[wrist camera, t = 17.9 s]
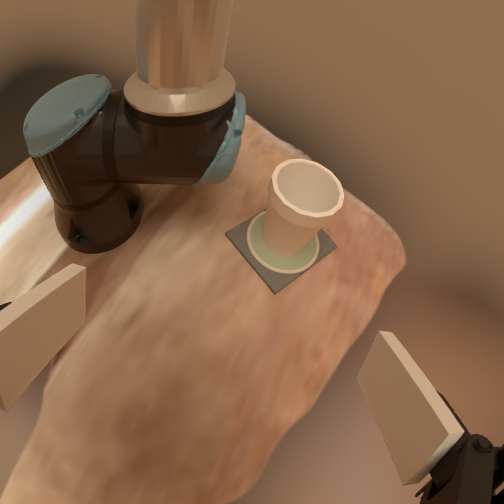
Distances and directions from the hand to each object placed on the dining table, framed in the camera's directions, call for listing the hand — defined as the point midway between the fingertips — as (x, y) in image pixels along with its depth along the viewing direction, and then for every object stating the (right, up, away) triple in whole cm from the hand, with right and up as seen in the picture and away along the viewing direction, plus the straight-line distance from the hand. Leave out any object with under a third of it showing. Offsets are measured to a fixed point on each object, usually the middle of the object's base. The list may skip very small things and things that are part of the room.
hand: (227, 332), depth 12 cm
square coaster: (+6, +5, +36) cm, 37 cm away
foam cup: (+6, +5, +36) cm, 36 cm away
